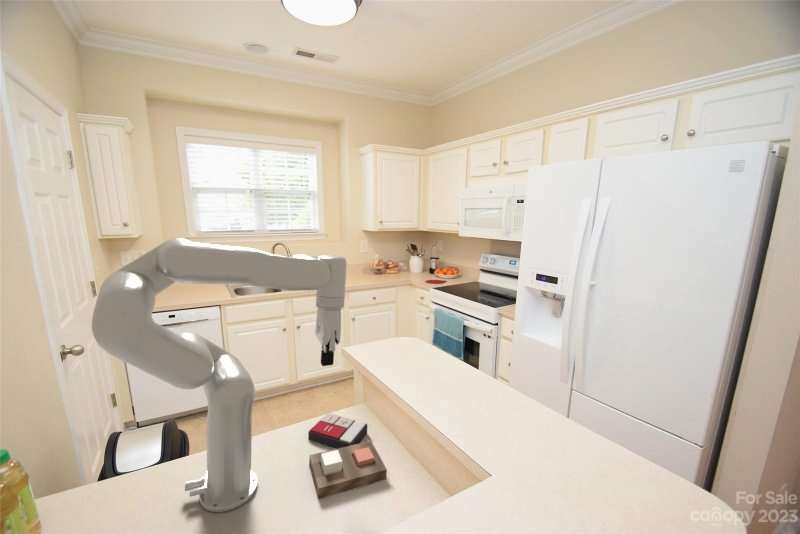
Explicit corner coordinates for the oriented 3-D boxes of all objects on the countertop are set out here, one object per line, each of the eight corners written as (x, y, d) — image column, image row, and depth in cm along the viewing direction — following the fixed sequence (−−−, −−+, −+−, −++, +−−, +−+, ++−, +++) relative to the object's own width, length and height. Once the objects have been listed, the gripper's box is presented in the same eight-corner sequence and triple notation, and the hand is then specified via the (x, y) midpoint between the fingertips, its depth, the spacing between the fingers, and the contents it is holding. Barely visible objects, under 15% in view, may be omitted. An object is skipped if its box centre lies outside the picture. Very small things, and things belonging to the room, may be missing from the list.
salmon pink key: (357, 475, 89) (358, 461, 88) (352, 463, 93) (353, 450, 92) (373, 470, 91) (374, 457, 90) (367, 459, 95) (368, 447, 94)
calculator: (327, 410, 111) (367, 421, 106) (327, 422, 112) (367, 433, 107) (307, 429, 101) (351, 442, 96) (307, 442, 102) (350, 455, 96)
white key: (324, 479, 85) (325, 465, 84) (320, 467, 89) (321, 453, 88) (341, 475, 87) (342, 461, 86) (337, 463, 91) (337, 449, 90)
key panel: (318, 499, 81) (318, 488, 80) (309, 464, 91) (309, 455, 91) (386, 479, 88) (386, 469, 88) (370, 449, 99) (371, 440, 99)
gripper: (311, 294, 95) (308, 355, 98) (322, 309, 82) (319, 378, 84) (336, 293, 98) (333, 352, 101) (351, 307, 85) (347, 374, 88)
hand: (326, 364), depth 93 cm, fingers closed
